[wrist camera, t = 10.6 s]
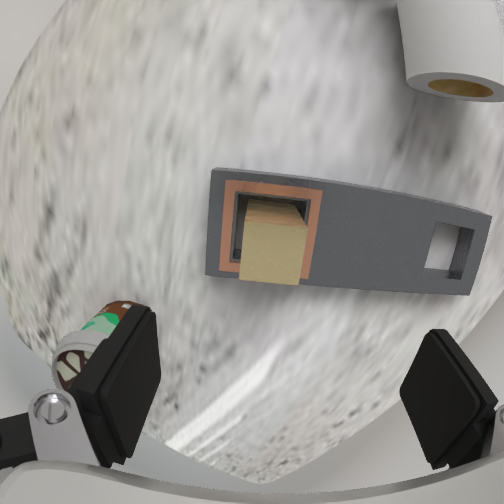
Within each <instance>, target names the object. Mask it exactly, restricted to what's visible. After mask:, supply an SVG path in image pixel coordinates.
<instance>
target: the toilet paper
mask: <svg viewBox="0 0 504 504" xmlns="http://www.w3.org/2000/svg"><path fill="white" fill-rule="evenodd" d="M396 3H397V9H398V15H399V21H400V27H401V34H402V42H403V50H404V59H405V70H406V82H407V84H408V85H409V86H410V87H412V88H413V89H416V90H418V91H421V92H424V93H428V94H432V95H436V96H441V97H446V98H452V99H459V100H466V101H476V102H504V32H503V28H502V24H501V20H500V16H499V13H498V9H497V6H496V2H495V0H396Z"/></svg>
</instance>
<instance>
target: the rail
mask: <svg viewBox="0 0 504 504" xmlns="http://www.w3.org/2000/svg"><path fill="white" fill-rule="evenodd" d="M240 194H246V195H256V196H265V197H275V198H283V199H292V200H300V201H302V206H301V213H300V215H301V217H302V219H303V221H304V222H305V224H306V226H307V227H308V231H307V238H306V244H305V250H304V256H303V262H302V268H301V273H300V279H299V284H302V285H314V286H326V287H339V288H352V289H366V290H380V291H395V292H411V293H429V294H448V295H470V292H471V289H472V286H473V284H474V281H475V278H476V274H477V271H478V268H479V265H480V262H481V258H482V255H483V251H484V248H485V244H486V240H487V236H488V232H489V228H490V223H491V219H492V216H490V215H487V214H485V213H483V212H480V211H477V210H474V209H470V208H466V207H462V206H458V205H454V204H450V203H446V202H441V201H437V200H433V199H428V198H424V197H419V196H415V195H410V194H405V193H400V192H395V191H390V190H385V189H379V188H374V187H368V186H363V185H357V184H351V183H344V182H338V181H332V180H325V179H318V178H311V177H303V176H296V175H288V174H279V173H270V172H261V171H251V170H240V169H229V168H214V169H212V172H211V185H210V199H209V214H208V231H207V249H206V270H205V275H210V276H219V277H229V278H238V279H239V273H240V263H241V252H242V250H239V249H235V241H236V229H237V218H238V207H239V196H240ZM435 222H441V223H446V224H451V225H456V226H460V227H461V229H460V233H459V237H458V241H457V245H456V248H455V252H454V256H453V259H452V263H451V266H450V270H449V271H447V270H438V269H428V268H424V266H425V262H426V259H427V255H428V251H429V247H430V243H431V239H432V235H433V231H434V227H435Z"/></svg>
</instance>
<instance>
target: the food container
mask: <svg viewBox="0 0 504 504" xmlns="http://www.w3.org/2000/svg"><path fill="white" fill-rule="evenodd" d="M133 304H135V305H141V304H138V303H134V302H131V301H115V302H113V303H110V304H107V305H106V306H105V307H104V308H103V309H102V310H101V311H100V312H99V313H98V314H97V315H96V316H95V317H93V318H92V319H91V320H90V321H89V322H88V323H87V324H86V325H85V326H84V327H83V328H82V329H81V330H80V331H74V332H71V333H69V334H67V335H66V336H64V337H63V338H62V339H61V340H60V342H59V344H58V346H57V349H56V351H55V353H54V355H53V359H52V367H51V371H52V377H53V381H54V383H55V385H56V388H57V389H60V390H63V391H66V392H67V391H68V389H69V388H70V386H71V385H72V383H73V382H74V380H75V379H76V377H77V376H78V374H79V373H80V371H81V370H82V368H83V367H84V365H85V364H86V362H87V361H88V359H89V358H90V357H91V355H92V354H93V352H94V351H95V349H96V348H97V347H98V345H99V344H100V342H101V341H102V340H103V339H105V338H107V339H108V337H109V336H110V334H111V333H112V331H113V330H114V329H115V327H116V326H117V324H118V323H119V322H120V320H121V319H122V317H123V316H124V315H125V313H126V312H127V311H128V309H129V308H130V306H131V305H133ZM141 306H143V305H141ZM150 310H151V309H150ZM151 311H152V310H151Z"/></svg>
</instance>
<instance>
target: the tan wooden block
mask: <svg viewBox="0 0 504 504" xmlns="http://www.w3.org/2000/svg"><path fill="white" fill-rule="evenodd" d="M307 231H308V227H307V226H306V224H305V222H304V221H303V219H302V217H301V215H300V214H299V212H298V210H297V209H296V207H295V205H294V204H287V203H278V202H269V201H260V200H251V199H249V200H248V205H247V211H246V216H245V221H244V231H243V242H242V252H241V263H240V273H239V280H246V281H256V282H266V283H277V284H287V285H299V279H300V273H301V268H302V262H303V256H304V250H305V244H306V238H307Z"/></svg>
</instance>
